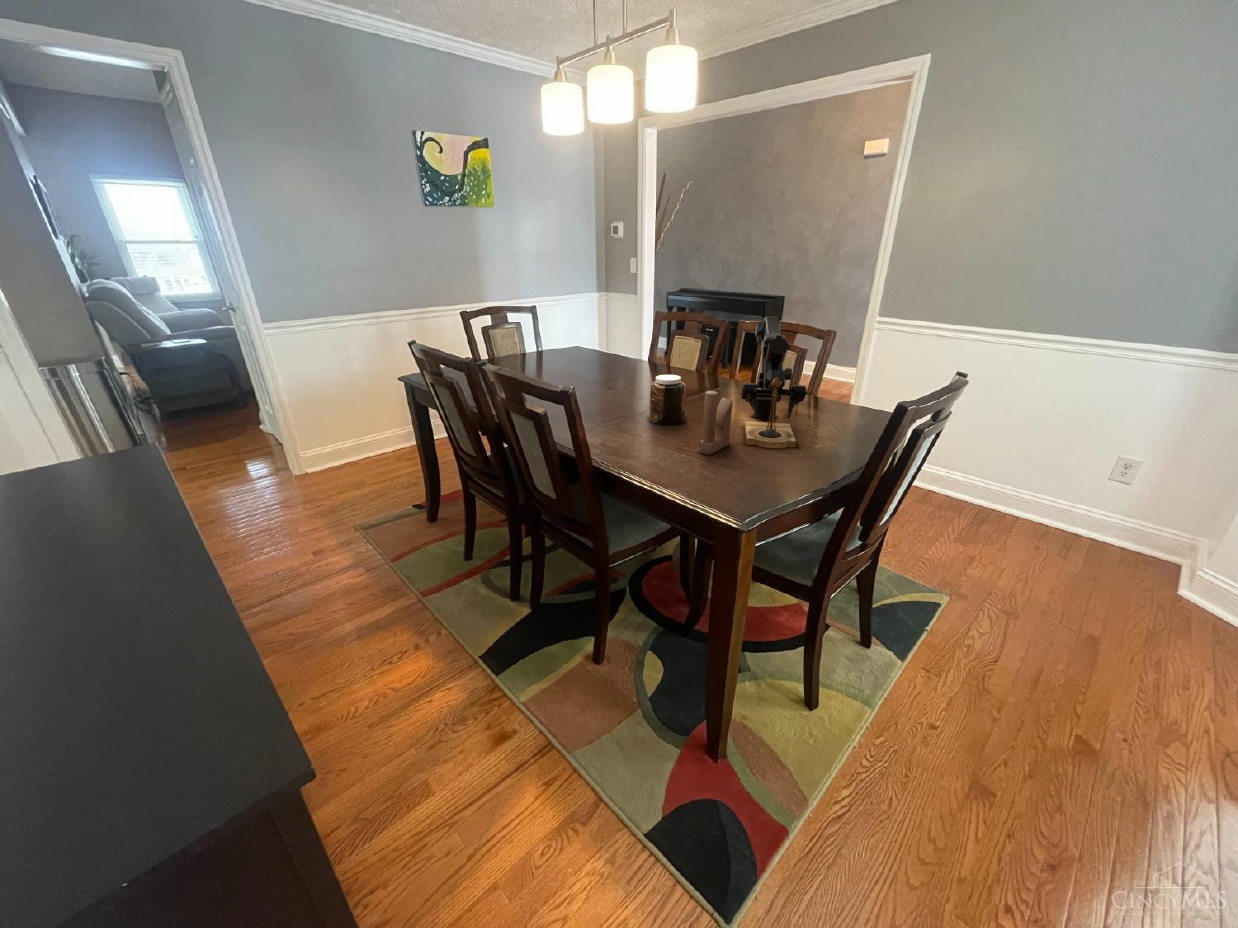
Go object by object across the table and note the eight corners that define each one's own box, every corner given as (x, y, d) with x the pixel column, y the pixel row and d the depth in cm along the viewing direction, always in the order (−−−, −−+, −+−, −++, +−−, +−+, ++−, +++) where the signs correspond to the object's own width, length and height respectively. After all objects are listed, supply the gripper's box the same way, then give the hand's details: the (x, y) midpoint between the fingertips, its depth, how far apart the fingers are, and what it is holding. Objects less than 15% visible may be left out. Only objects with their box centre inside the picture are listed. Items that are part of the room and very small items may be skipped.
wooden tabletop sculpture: (770, 444, 148) (778, 379, 140) (756, 440, 152) (763, 376, 143) (780, 439, 152) (788, 375, 144) (767, 435, 155) (774, 373, 147)
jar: (666, 427, 163) (667, 383, 157) (643, 419, 171) (643, 377, 165) (691, 420, 170) (693, 377, 163) (667, 412, 178) (668, 371, 172)
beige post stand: (729, 445, 148) (734, 387, 141) (709, 455, 141) (713, 394, 134) (718, 442, 150) (722, 384, 143) (698, 452, 143) (702, 392, 136)
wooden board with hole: (744, 427, 163) (745, 421, 162) (788, 429, 160) (789, 423, 159) (747, 446, 147) (747, 440, 146) (795, 449, 144) (796, 443, 144)
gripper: (745, 357, 147) (743, 403, 142) (810, 358, 144) (811, 406, 138) (741, 376, 157) (740, 420, 152) (802, 378, 154) (803, 423, 149)
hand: (772, 417), depth 148 cm, fingers open, 9 cm apart
